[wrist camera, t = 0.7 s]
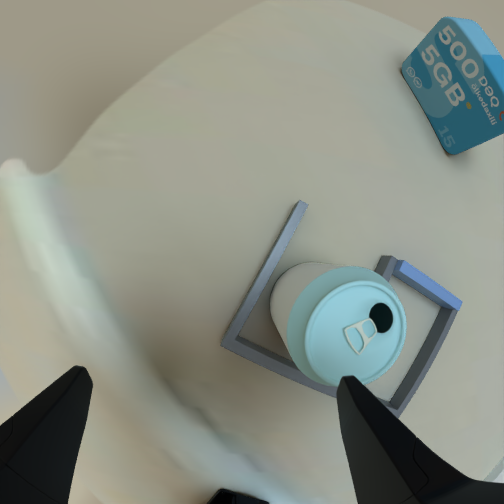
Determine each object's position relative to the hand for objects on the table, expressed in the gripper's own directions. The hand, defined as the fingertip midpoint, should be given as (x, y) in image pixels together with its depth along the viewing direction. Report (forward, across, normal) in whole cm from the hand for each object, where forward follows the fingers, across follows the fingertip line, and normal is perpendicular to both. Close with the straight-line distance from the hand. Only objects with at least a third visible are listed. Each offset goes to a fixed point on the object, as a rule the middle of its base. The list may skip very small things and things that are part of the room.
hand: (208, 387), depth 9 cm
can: (+15, -7, +7) cm, 18 cm away
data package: (+25, -23, -12) cm, 36 cm away
